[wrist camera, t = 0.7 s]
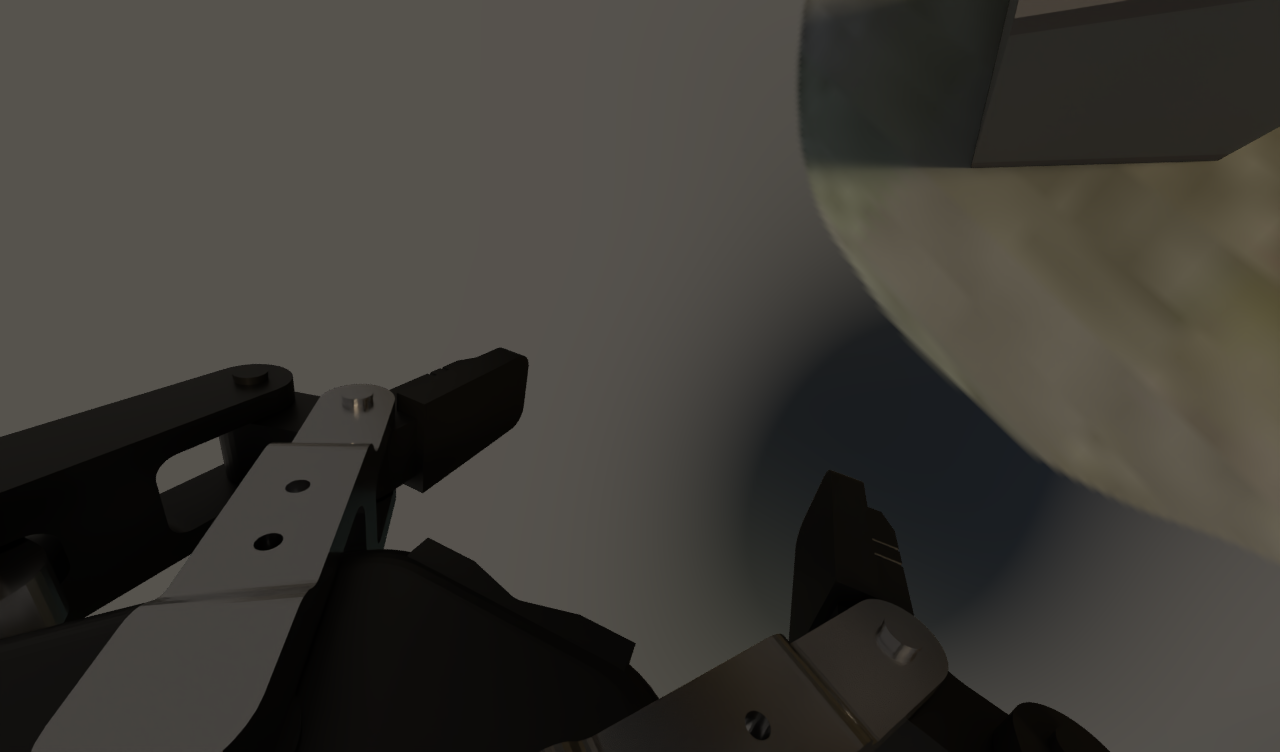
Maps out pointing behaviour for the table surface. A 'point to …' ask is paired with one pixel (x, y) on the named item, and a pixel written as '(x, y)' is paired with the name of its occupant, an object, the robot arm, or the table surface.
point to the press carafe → (1130, 82)
